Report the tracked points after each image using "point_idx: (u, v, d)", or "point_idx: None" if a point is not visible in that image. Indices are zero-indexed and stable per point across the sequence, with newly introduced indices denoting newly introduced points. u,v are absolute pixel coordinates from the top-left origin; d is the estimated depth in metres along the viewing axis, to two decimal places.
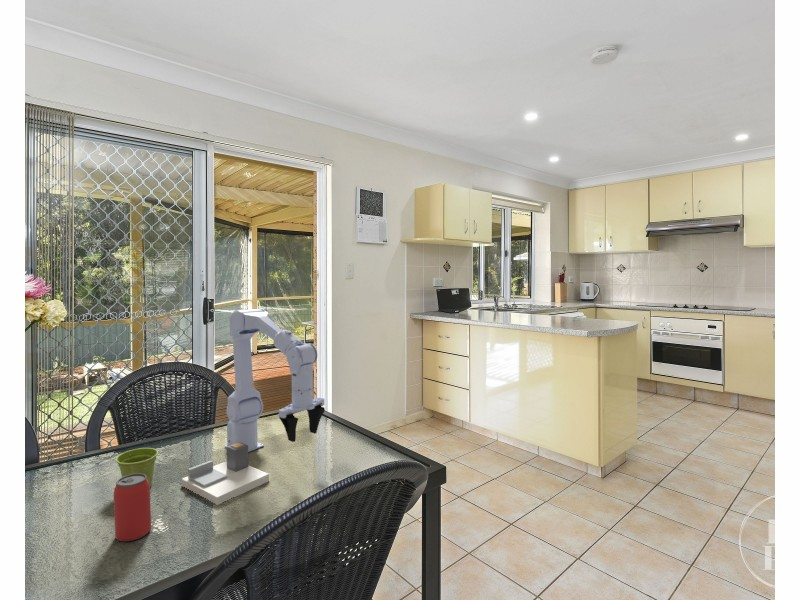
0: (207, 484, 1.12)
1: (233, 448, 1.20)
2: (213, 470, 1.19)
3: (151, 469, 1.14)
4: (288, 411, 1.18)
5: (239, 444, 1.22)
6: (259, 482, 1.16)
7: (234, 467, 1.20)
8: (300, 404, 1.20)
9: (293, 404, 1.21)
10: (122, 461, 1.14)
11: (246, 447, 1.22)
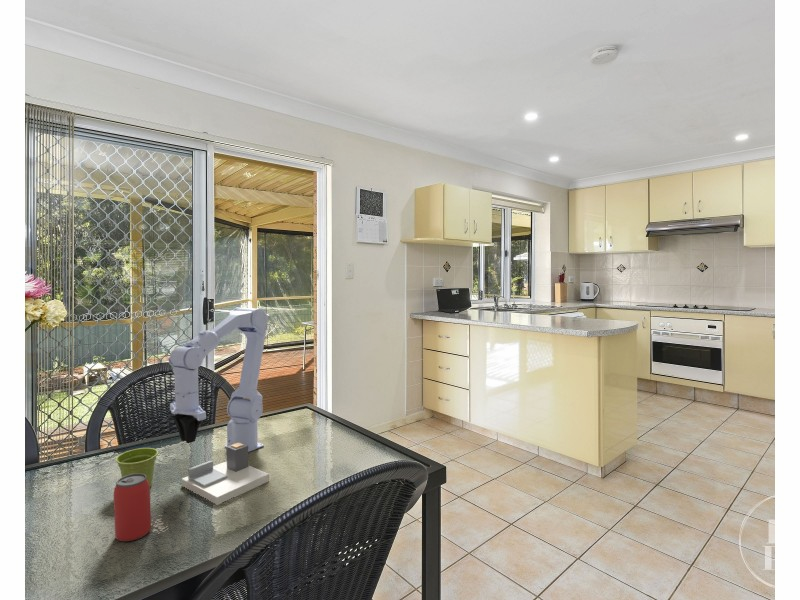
0: (207, 484, 1.12)
1: (233, 448, 1.20)
2: (213, 470, 1.19)
3: (151, 469, 1.14)
4: (171, 406, 1.22)
5: (239, 444, 1.22)
6: (259, 482, 1.16)
7: (234, 467, 1.20)
8: None
9: None
10: (122, 461, 1.14)
11: (246, 447, 1.22)
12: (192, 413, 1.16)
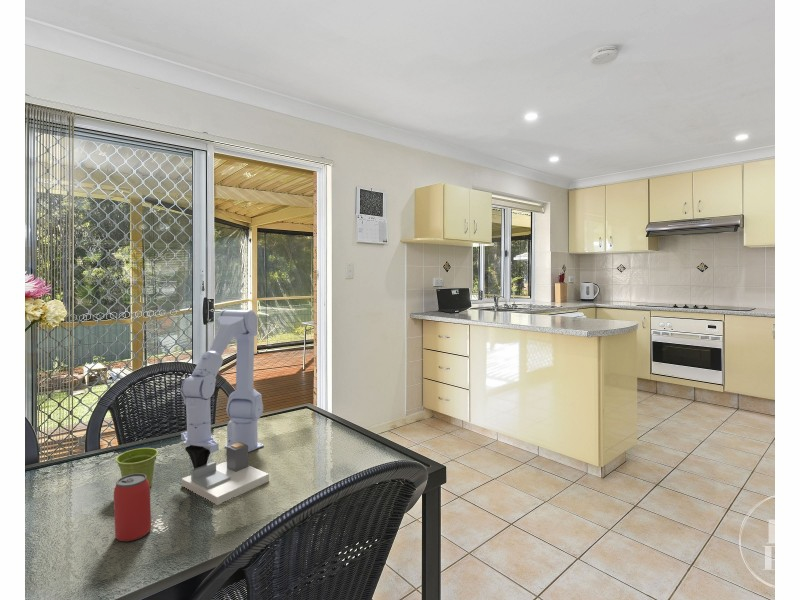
0: (210, 486, 1.11)
1: (233, 448, 1.20)
2: (216, 471, 1.18)
3: (151, 469, 1.14)
4: (183, 435, 1.19)
5: (239, 444, 1.22)
6: (259, 482, 1.16)
7: (234, 467, 1.20)
8: None
9: None
10: (122, 461, 1.14)
11: (246, 447, 1.22)
12: (204, 445, 1.13)
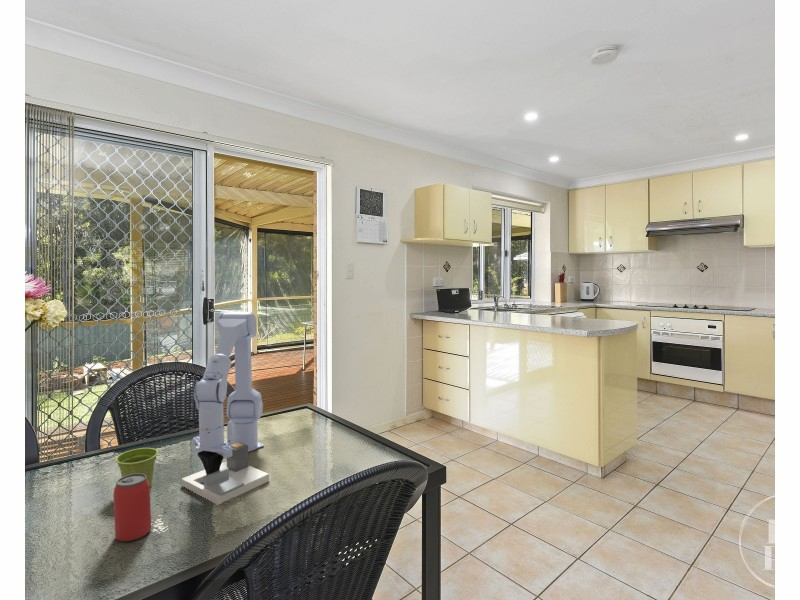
0: (224, 493, 1.07)
1: (233, 448, 1.20)
2: (229, 478, 1.15)
3: (151, 469, 1.14)
4: (195, 440, 1.16)
5: (239, 444, 1.22)
6: (259, 482, 1.16)
7: (234, 467, 1.20)
8: None
9: None
10: (122, 461, 1.14)
11: (246, 447, 1.22)
12: (218, 450, 1.10)
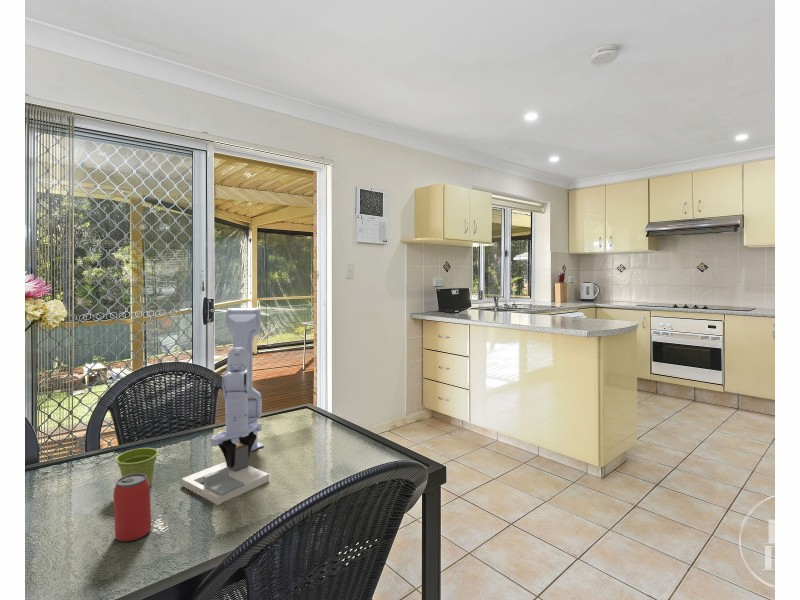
0: (224, 493, 1.07)
1: None
2: (229, 478, 1.15)
3: (151, 469, 1.14)
4: (220, 439, 1.16)
5: (239, 444, 1.22)
6: (259, 482, 1.16)
7: (234, 467, 1.20)
8: (233, 431, 1.19)
9: (226, 431, 1.19)
10: (122, 461, 1.14)
11: (246, 447, 1.22)
12: (255, 427, 1.25)
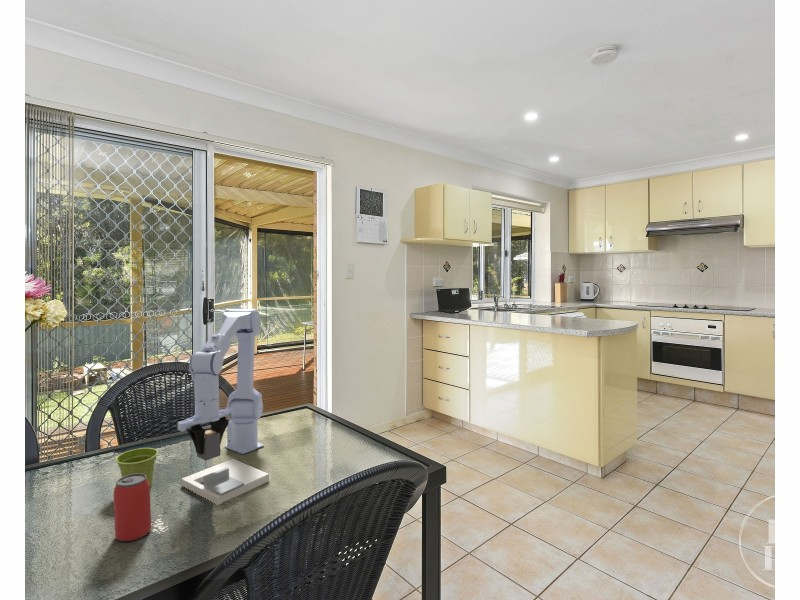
0: (224, 493, 1.07)
1: None
2: (229, 478, 1.15)
3: (151, 469, 1.14)
4: (188, 424, 1.09)
5: (210, 431, 1.15)
6: (259, 482, 1.16)
7: (205, 455, 1.12)
8: (203, 416, 1.11)
9: (196, 416, 1.12)
10: (122, 461, 1.14)
11: (218, 434, 1.14)
12: (228, 412, 1.17)
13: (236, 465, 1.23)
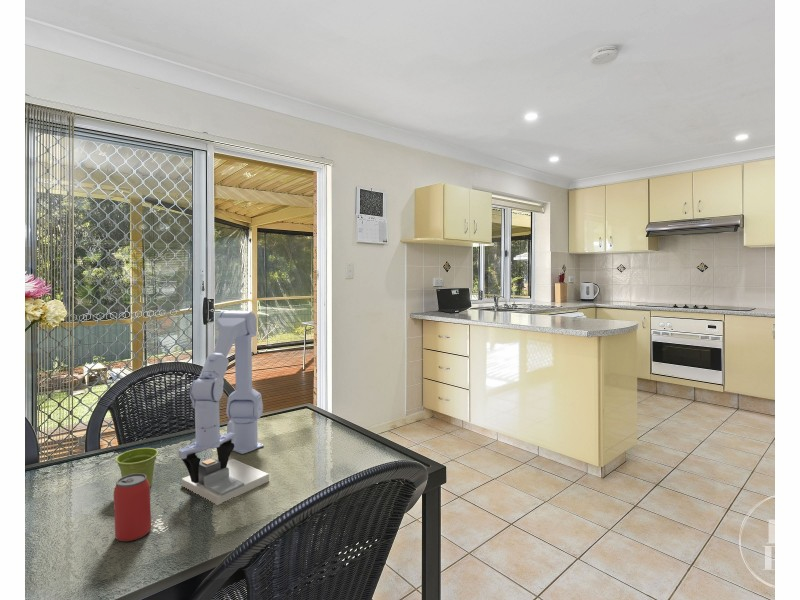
0: (224, 493, 1.07)
1: (204, 465, 1.13)
2: (229, 478, 1.15)
3: (151, 469, 1.14)
4: (189, 451, 1.09)
5: (211, 460, 1.15)
6: (259, 482, 1.16)
7: None
8: (203, 442, 1.12)
9: (196, 442, 1.13)
10: (122, 461, 1.14)
11: (218, 464, 1.15)
12: (228, 437, 1.18)
13: (236, 465, 1.23)
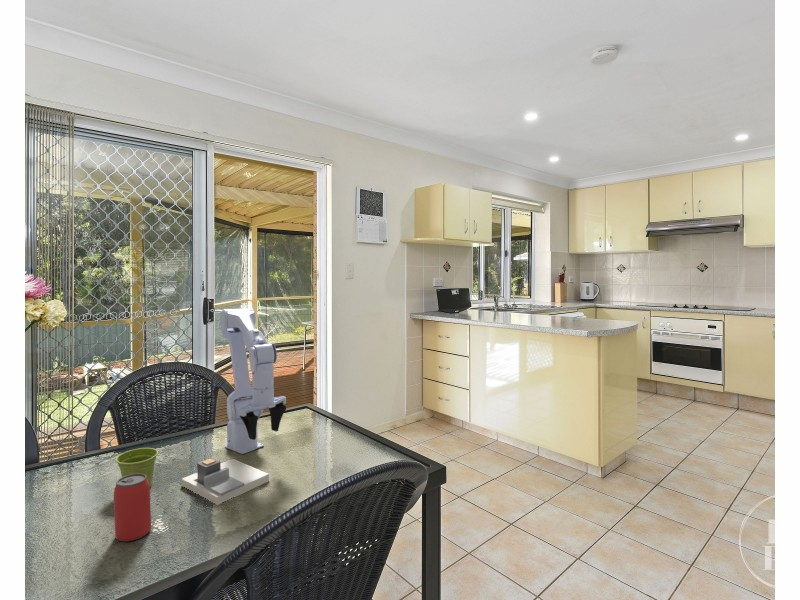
0: (224, 493, 1.07)
1: (204, 465, 1.13)
2: (229, 478, 1.15)
3: (151, 469, 1.14)
4: (248, 409, 1.19)
5: (211, 460, 1.15)
6: (259, 482, 1.16)
7: None
8: (260, 402, 1.22)
9: (254, 402, 1.23)
10: (122, 461, 1.14)
11: (218, 464, 1.15)
12: (281, 400, 1.28)
13: (236, 465, 1.23)
